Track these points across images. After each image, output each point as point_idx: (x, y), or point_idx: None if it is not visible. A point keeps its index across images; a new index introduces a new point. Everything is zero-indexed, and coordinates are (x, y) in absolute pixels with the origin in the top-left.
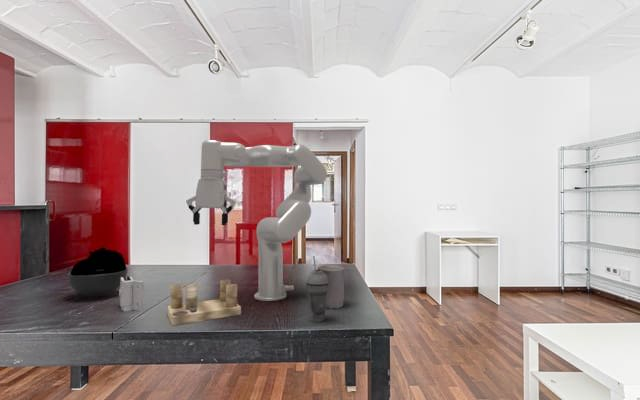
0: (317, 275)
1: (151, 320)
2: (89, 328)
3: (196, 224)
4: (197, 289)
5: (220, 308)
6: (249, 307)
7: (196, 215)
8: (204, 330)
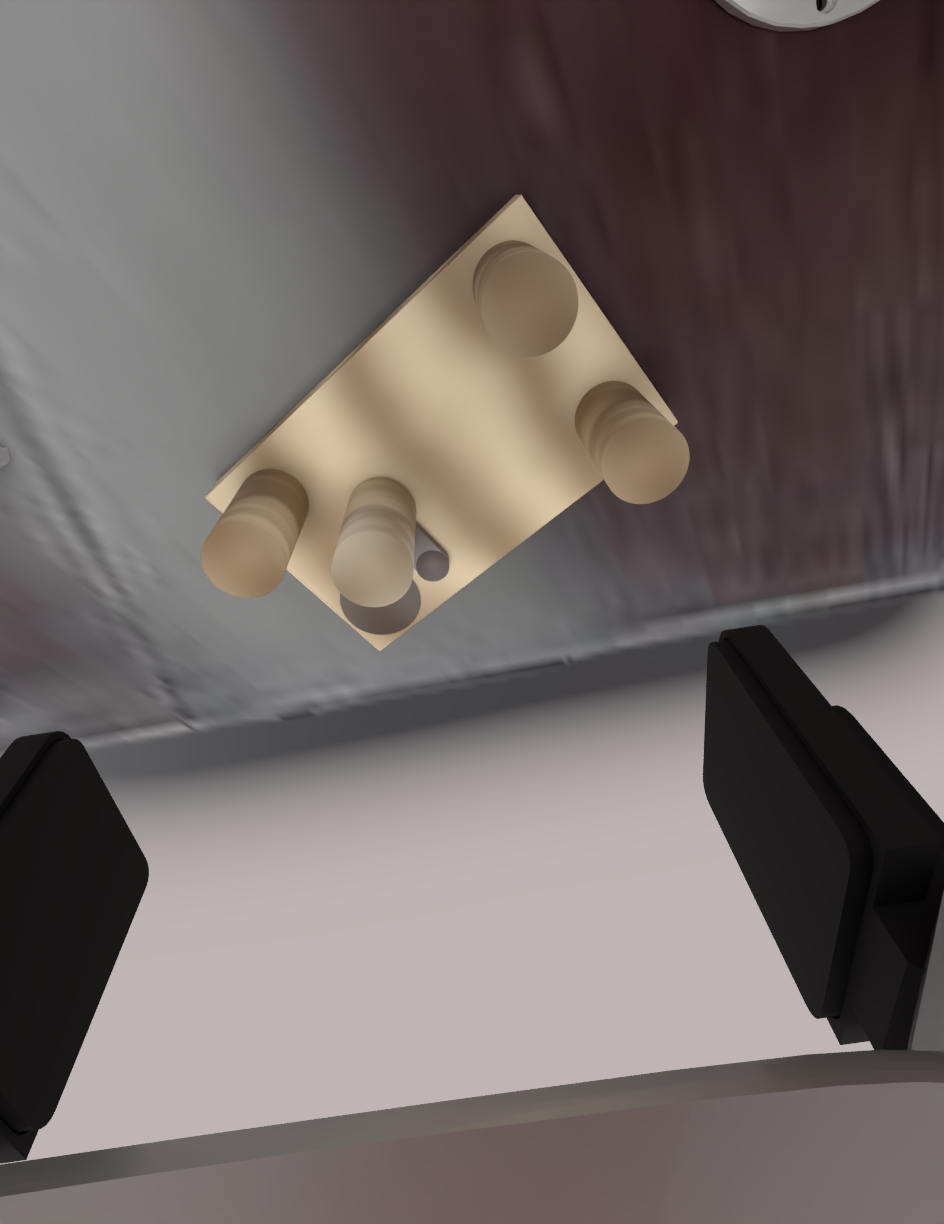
0: None
1: None
2: (48, 715)
3: (123, 835)
4: (409, 544)
5: (560, 478)
6: (683, 243)
7: (67, 1072)
8: (561, 647)
